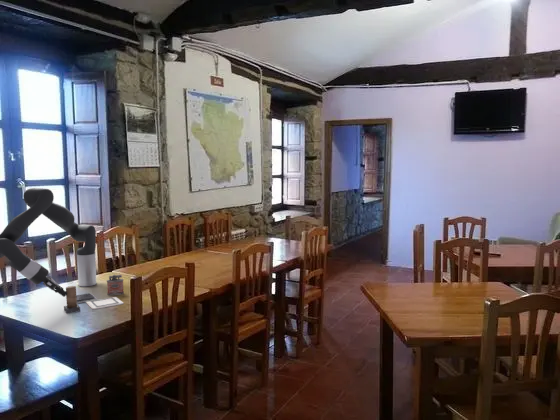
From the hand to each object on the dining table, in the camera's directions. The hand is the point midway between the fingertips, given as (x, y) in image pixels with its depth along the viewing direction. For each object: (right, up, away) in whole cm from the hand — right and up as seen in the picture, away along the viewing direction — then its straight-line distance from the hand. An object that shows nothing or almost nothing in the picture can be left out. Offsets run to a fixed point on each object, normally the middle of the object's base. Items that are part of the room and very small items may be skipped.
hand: (63, 292), depth 205 cm
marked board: (+13, -8, +13) cm, 20 cm away
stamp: (+3, -9, +3) cm, 9 cm away
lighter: (+13, -6, +29) cm, 32 cm away
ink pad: (0, -7, +19) cm, 20 cm away
